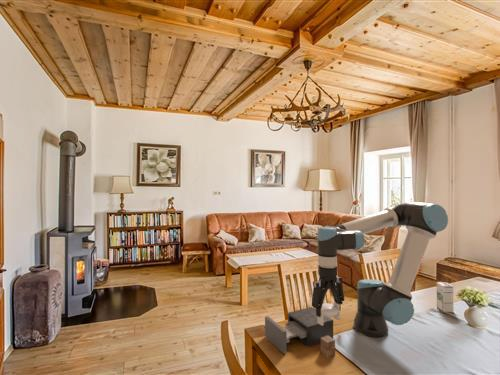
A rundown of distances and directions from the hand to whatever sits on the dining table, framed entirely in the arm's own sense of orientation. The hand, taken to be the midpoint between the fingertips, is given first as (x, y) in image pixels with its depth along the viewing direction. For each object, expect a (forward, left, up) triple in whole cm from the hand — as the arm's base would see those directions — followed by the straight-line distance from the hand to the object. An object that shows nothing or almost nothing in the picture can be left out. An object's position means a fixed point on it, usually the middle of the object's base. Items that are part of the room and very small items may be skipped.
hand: (328, 321), depth 113 cm
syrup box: (-86, -2, -13) cm, 87 cm away
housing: (-3, -15, -13) cm, 20 cm away
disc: (0, 0, +4) cm, 4 cm away
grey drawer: (+9, -15, -13) cm, 22 cm away
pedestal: (0, 0, -13) cm, 13 cm away
